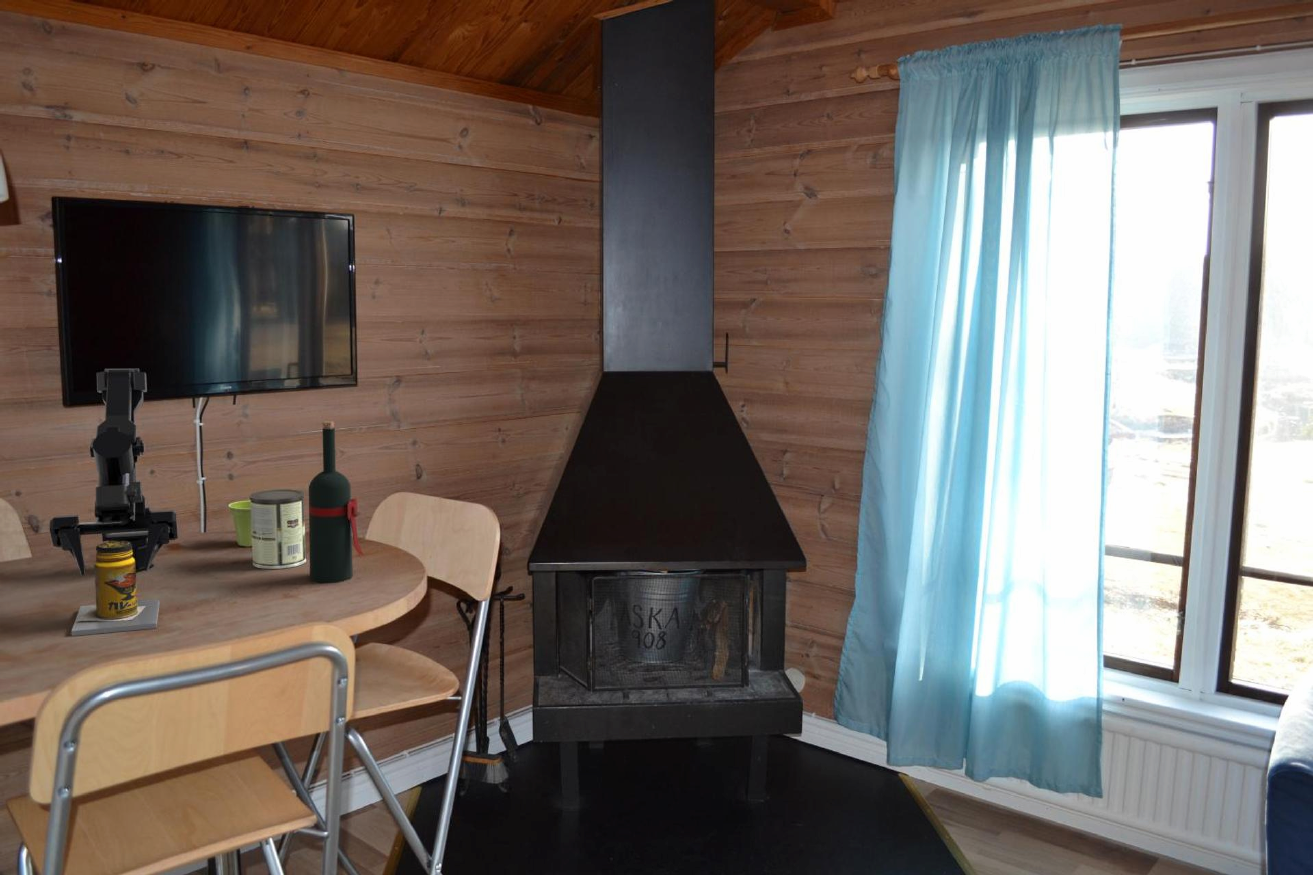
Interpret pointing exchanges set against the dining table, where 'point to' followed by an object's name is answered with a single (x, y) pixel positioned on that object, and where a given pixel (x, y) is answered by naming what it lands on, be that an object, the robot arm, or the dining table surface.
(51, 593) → the dining table surface
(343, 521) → the wine bottle
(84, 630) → the board
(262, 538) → the coffee can
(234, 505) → the plant pot
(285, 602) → the dining table surface
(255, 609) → the dining table surface
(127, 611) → the condiment
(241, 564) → the dining table surface
